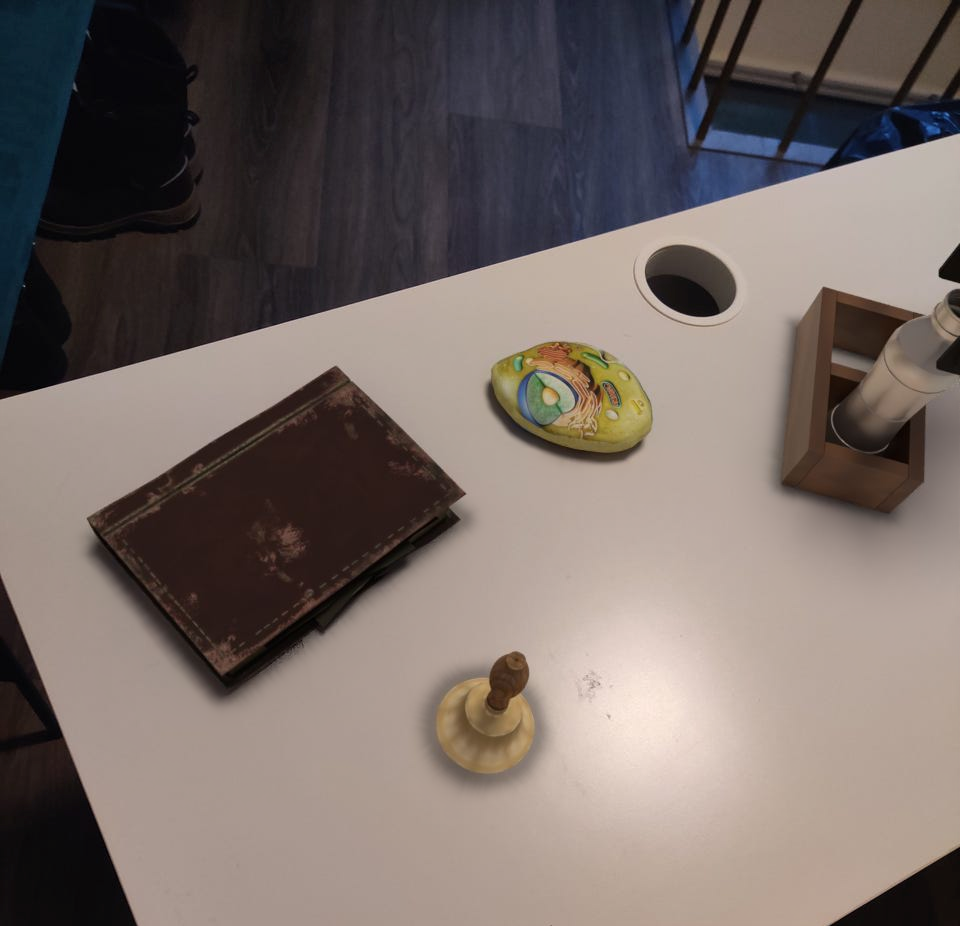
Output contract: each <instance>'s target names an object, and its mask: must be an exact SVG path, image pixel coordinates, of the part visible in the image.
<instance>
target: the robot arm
mask: <svg viewBox="0 0 960 926" xmlns="http://www.w3.org/2000/svg"><path fill="white" fill-rule="evenodd" d="M937 275H938V278H939V279H942V280H945V281H947V282H952V283H955V284H959V285H960V242H959V243H958V244H957V246H956V247H954V250H952V252H951V253H950V255H949V256H948V257H947V258H946V259H945V261H944V262H943V263H942V265H941V266H940V267H939V269H938V273H937ZM936 368H937V369H938V370H941V371H945V372H948V373H952V374H956V375H960V335H959V337H958V338H957V339H956V340H955V341H954V342H953V343H952V344H951V345H950V346H949V348H948V349H947V350H946V351H945V352H944V353H943V354H942V355H941V356H940V357H939V359H938V360H937V361H936Z"/></svg>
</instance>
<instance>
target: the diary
mask: <svg viewBox="0 0 960 926" xmlns="http://www.w3.org/2000/svg"><path fill="white" fill-rule="evenodd" d="M466 495H467V492H466V491H465V490H464V489H463V488H462V487H460V485H459V484H457V483H456V481H454V480H453V478H452V477H451V476H450V475H449V474H448V473H446V471H445V470H444V469H443V468H442V467H441V466H440V465H439V464H438V463H437V462H436V461H435V460H434V459H433V458H432V457H431V456H430V455H429V454H428V453H427V452H426V451H425V450H424V449H423V448H422V447H421V446H420V445H419V444H418V443H417V442H416V441H415V440H414V439H413V438H412V437H411V436H410V434H408V433H407V432H406V431H405V430H404V429H403V427H402V426H400V425H399V424H398V423H397V421H395V420H394V418H392V417H391V416H390V415H388V414H387V412H386V411H384V410H383V409H382V408H381V407H380V406H379V405H378V403H376V402H375V400H373V399H372V398H371V397H370V396H369V395H368V394H367V393H365V391H363V390H362V389H361V388H360V387H359V386H358V385H357V383H355V382H354V381H352V380H351V379H350V377H349V376H348V375H347V374H346V373H345V372H344V371H343V370H342V369H341V368H340V367H339V366H338V365H334V366H332V367H330V368H329V369H328V370H325V371H324V372H323V373H321V374H320V375H318V376H317V377H315V378H314V379H312V380H310V381H308V382H307V383H306V384H303V386H301V387H300V388H298V389H297V390H295V391H293V392H292V393H290V394H289V395H287V396H285V397H284V398H282V399H281V400H280V401H278V402H277V403H275V404H273V405H272V406H270V407H268V408H266V409H265V410H263V411H261V412H259V413H257V414H256V415H254V416H253V417H251V418H250V419H247V420H245V421H244V422H242V423H241V424H239V425H237V426H236V427H234V428H232V429H230V430H229V431H227V432H224V434H222V435H220V436H218V437H217V438H214V439H213V440H212V441H210V442H209V443H207V444H205V445H204V446H203V447H201V448H200V449H198V450H197V451H195V452H193V453H191V454H190V455H189V456H187V457H186V458H183V460H181V461H180V462H178V463H176V464H175V465H173V466H172V467H170V468H169V469H167V470H166V471H164V472H163V473H161V474H160V475H158V476H156V477H154V478H153V479H151V480H149V481H148V482H146V483H145V484H142V485H141V486H139V487H137V488H135V489H134V490H132V491H131V492H129V493H127V494H125V495H124V496H122V497H120V498H118V499H116V500H114V501H113V502H111V503H109V504H108V505H106V506H104V507H103V508H100V509H99V510H97V511H96V512H94V513H92V514H91V515H89V516H87V517H86V520H87V522H88V524H89V526H90V528H91V530H92V531H93V533H94V535H95V536H96V538H97V540H98V541H99V542H100V544H101V546H102V547H103V548H104V549H105V550H106V551H107V552H108V554H109V555H110V557H112V558H113V559H114V560H115V561H116V563H117V564H118V565H119V566H120V567H121V569H122V570H123V571H124V572H125V574H127V576H128V577H129V578H130V579H131V581H133V583H134V584H135V585H136V586H137V587H138V589H139V590H140V591H141V592H142V593H143V594H144V595H145V597H146V598H147V599H148V600H149V602H150V603H152V605H153V606H154V607H155V609H156V610H157V611H158V612H159V613H160V614H161V615H162V617H163V618H164V619H165V620H166V621H167V622H168V623H169V625H170V626H171V627H172V628H173V629H174V630H175V632H176V633H177V634H178V635H179V636H180V638H181V639H182V640H183V641H184V642H185V644H186V645H187V646H188V647H189V648H190V650H192V652H193V653H194V654H195V656H197V657H198V659H199V660H200V661H201V662H202V663H203V664H204V665H205V666H206V668H207V669H208V670H209V671H210V672H211V673H212V675H213V676H214V677H215V678H216V679H217V681H218V682H219V683H220V685H222V686H223V687H224V688H225V690H227V691H230V690H231V689H235V687H237V686H240V684H242V683H243V682H245V681H246V680H247V679H248V678H250V677H252V676H253V675H254V674H256V673H257V672H259V671H260V670H261V669H263V668H265V666H268V664H270V663H271V662H273V661H274V660H275V659H276V658H278V657H279V656H280V655H282V654H284V653H285V652H286V651H287V650H289V649H290V648H292V647H293V646H295V645H296V644H297V643H298V642H300V641H301V640H302V639H304V638H305V637H306V636H308V634H310V633H311V632H313V631H314V630H316V629H317V628H318V627H319V626H321V627H322V628H325V627H326V626H327V624H328V623H329V622H330V621H331V620H332V619H333V618H334V617H335V616H336V614H337V613H338V612H340V610H341V609H342V608H344V607H345V606H346V605H348V604H349V603H350V602H352V601H353V600H355V599H356V598H358V597H359V596H361V595H362V594H363V593H365V592H366V591H368V590H369V589H370V588H372V587H373V586H375V585H376V584H377V583H379V582H380V581H381V580H382V579H384V578H385V577H386V576H387V575H388V574H389V573H390V571H389V572H386V573H384V574H382V573H383V572H385V571H386V570H387V569H388V568H390V567H391V566H392V565H394V564H395V563H396V562H398V561H399V560H400V559H403V558H404V557H406V556H408V555H410V554H411V553H414V552H416V551H417V550H419V549H421V548H423V547H425V546H426V545H428V544H430V543H431V542H433V541H434V540H435V539H437V538H438V537H440V536H441V535H443V534H444V533H445V532H447V531H448V530H449V529H451V528H452V527H454V526H455V525H456V524H458V523H459V522H460V521H461V520H462V519H461V518H460V517H459V516H458V515H457V514H456V513H455V512H454V511H453V509H451V508H450V507H451V506H452V505H453V504H455V503H457V502H458V501H459V500H461V499H462V498H464V497H465V496H466ZM381 574H382V575H381Z"/></svg>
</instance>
